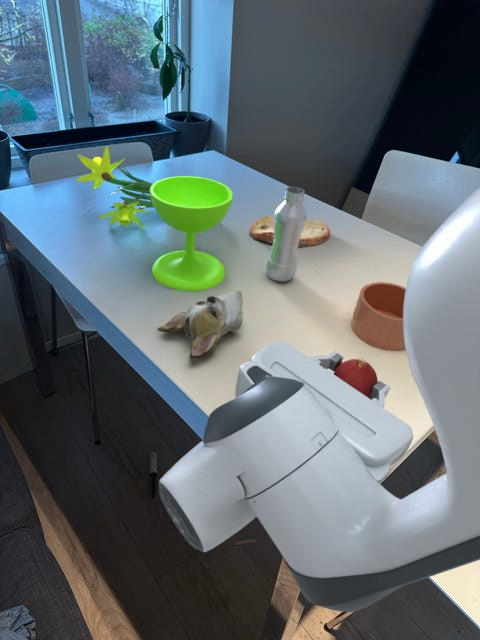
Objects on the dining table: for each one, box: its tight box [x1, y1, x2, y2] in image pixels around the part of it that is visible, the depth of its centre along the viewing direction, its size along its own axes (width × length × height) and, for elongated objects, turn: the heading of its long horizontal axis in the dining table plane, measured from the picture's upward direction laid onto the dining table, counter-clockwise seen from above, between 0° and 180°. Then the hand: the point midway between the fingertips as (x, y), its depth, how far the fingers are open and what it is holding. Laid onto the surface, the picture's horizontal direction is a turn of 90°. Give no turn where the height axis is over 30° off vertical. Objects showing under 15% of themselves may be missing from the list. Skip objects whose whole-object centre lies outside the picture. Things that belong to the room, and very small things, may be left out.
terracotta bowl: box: [350, 281, 406, 352], centre depth 85 cm, size 12×12×7 cm
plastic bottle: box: [266, 186, 307, 282], centre depth 93 cm, size 6×7×20 cm
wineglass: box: [149, 175, 234, 292], centre depth 92 cm, size 16×16×18 cm
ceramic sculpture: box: [156, 290, 244, 360], centre depth 78 cm, size 11×9×15 cm
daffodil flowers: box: [74, 145, 155, 230], centre depth 111 cm, size 17×15×35 cm
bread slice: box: [248, 215, 331, 248], centre depth 115 cm, size 18×18×4 cm
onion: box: [332, 357, 379, 400], centre depth 57 cm, size 6×6×8 cm
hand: (360, 372), depth 57 cm, fingers closed on onion, 5 cm apart
